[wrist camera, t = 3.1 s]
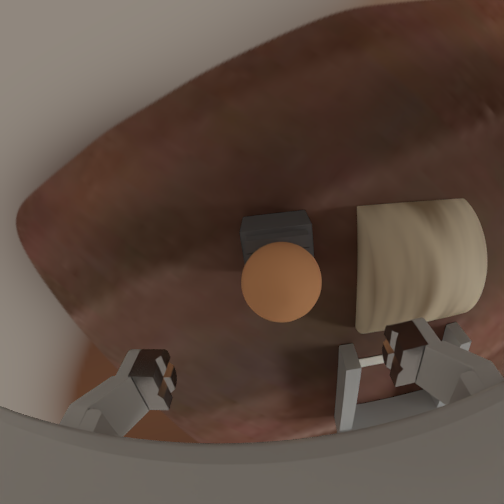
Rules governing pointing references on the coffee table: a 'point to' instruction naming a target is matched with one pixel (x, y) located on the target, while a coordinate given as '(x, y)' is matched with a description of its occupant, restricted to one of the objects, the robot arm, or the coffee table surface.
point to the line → (371, 360)
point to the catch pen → (385, 409)
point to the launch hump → (417, 262)
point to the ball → (281, 282)
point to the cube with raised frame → (276, 231)
